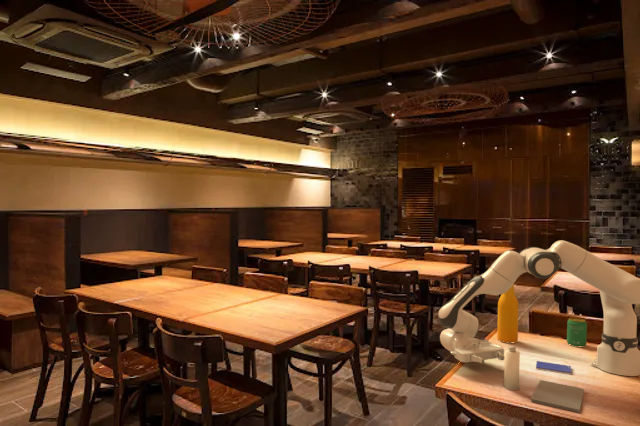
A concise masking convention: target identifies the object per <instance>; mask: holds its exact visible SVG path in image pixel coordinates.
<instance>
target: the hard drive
mask: <svg viewBox="0 0 640 426" xmlns="http://www.w3.org/2000/svg"><path fill="white" fill-rule="evenodd" d="M535 364H536V365H535V370H540V371H546V372H552V373H558V374H565V375H572V368H571V367H572V366H571V365H566V364H561V363H560V364H559V363H553V362H548V361H538V360H537V361H536V363H535Z"/></svg>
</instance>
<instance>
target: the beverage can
mask: <svg viewBox="0 0 640 426" xmlns="http://www.w3.org/2000/svg"><path fill="white" fill-rule="evenodd" d="M566 323H567V327H566V328H567V329H566V343H567V345H569V344H571V345H574V346H585V347H586V345H587V338H588V337H587V334H588V333H587V331H588V323H587V321H586V319H583V318H581V317H569V318H568V320H567V322H566ZM571 345H570V346H571ZM574 346H573V347H574Z"/></svg>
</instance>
